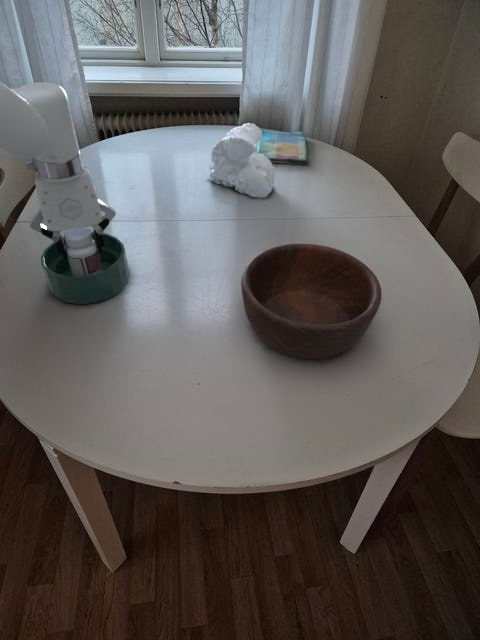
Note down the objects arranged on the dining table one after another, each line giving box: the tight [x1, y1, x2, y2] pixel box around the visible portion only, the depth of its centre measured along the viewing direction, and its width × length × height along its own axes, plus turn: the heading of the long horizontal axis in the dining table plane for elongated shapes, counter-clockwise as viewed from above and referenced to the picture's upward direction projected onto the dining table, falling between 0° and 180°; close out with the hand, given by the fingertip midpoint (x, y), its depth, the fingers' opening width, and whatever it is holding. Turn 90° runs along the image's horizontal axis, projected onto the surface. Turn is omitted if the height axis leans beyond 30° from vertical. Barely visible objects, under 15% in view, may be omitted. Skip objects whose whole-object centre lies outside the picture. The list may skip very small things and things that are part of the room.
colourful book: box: [256, 129, 309, 166], centre depth 145 cm, size 17×23×2 cm
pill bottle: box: [63, 227, 103, 276], centre depth 87 cm, size 6×6×11 cm
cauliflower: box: [209, 122, 276, 199], centre depth 122 cm, size 19×20×20 cm
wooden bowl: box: [240, 243, 382, 360], centre depth 80 cm, size 25×25×10 cm
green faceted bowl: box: [40, 231, 130, 305], centre depth 89 cm, size 16×16×7 cm
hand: (82, 251), depth 86 cm, fingers closed on pill bottle, 6 cm apart
